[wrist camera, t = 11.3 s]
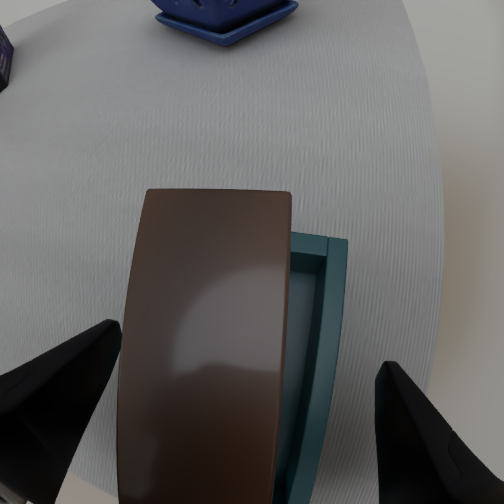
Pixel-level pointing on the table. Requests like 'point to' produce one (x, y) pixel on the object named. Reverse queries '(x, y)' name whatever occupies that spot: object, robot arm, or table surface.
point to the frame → (204, 348)
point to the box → (5, 58)
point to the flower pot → (222, 17)
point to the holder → (309, 361)
